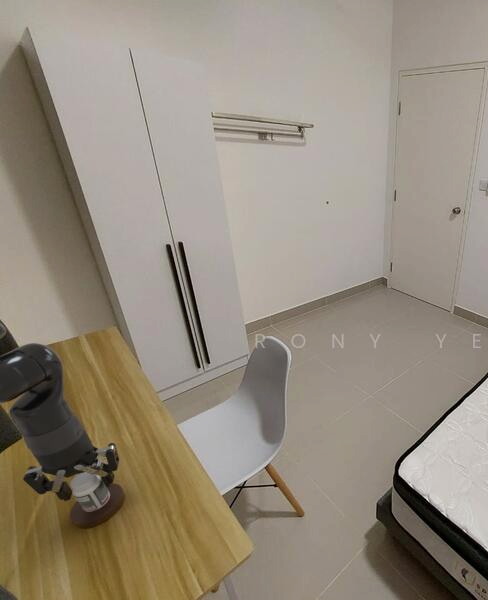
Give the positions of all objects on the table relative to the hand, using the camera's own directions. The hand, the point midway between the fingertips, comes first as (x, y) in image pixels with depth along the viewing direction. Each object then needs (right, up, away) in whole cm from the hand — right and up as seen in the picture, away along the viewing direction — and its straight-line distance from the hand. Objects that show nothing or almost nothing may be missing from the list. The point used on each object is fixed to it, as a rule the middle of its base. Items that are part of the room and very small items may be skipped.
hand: (89, 489), depth 71 cm
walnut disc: (0, -6, +3) cm, 7 cm away
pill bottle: (0, -4, +2) cm, 5 cm away
